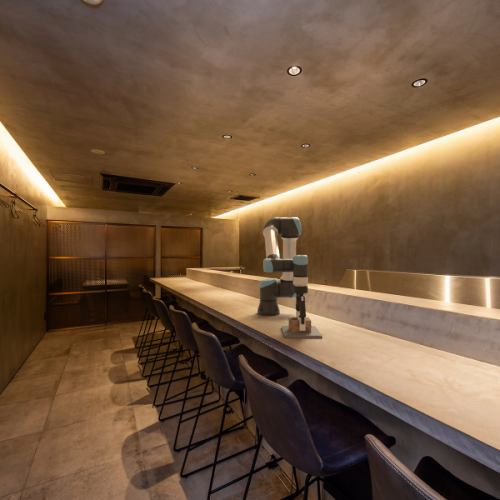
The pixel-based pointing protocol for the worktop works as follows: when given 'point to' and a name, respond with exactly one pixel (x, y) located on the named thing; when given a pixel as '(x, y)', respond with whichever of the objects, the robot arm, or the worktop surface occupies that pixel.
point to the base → (301, 333)
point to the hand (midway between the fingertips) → (300, 326)
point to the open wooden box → (295, 324)
